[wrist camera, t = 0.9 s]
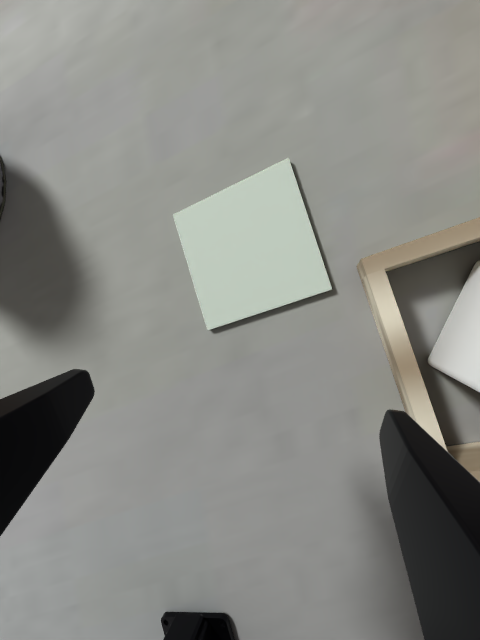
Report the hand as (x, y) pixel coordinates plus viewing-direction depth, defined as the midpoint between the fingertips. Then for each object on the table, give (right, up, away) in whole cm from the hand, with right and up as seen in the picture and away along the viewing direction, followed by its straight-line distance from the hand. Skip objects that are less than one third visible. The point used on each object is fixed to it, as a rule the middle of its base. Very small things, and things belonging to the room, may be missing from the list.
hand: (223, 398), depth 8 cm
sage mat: (+1, +8, +13) cm, 16 cm away
